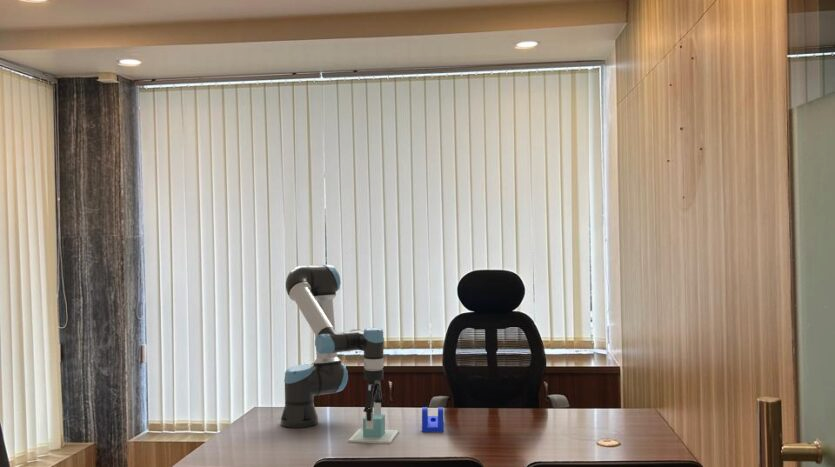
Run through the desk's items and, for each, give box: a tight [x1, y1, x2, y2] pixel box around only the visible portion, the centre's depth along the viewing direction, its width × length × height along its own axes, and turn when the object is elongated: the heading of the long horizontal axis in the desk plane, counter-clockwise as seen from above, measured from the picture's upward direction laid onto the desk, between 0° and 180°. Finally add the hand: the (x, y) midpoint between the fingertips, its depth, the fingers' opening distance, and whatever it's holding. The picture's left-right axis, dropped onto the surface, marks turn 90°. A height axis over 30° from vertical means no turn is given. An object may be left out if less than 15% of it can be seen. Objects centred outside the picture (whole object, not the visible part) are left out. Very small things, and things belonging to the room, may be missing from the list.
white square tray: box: [348, 428, 399, 445], centre depth 295 cm, size 16×16×1 cm
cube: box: [362, 413, 386, 438], centre depth 295 cm, size 7×7×7 cm
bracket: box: [421, 406, 445, 433], centre depth 311 cm, size 18×8×9 cm, turn 177°
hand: (373, 424), depth 295 cm, fingers open, 13 cm apart
